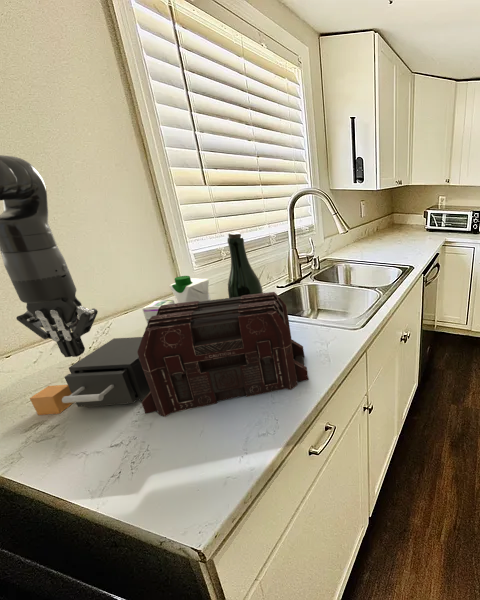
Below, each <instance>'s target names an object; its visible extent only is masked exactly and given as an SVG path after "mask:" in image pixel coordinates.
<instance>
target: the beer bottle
mask: <svg viewBox="0 0 480 600" xmlns="http://www.w3.org/2000/svg"><path fill="white" fill-rule="evenodd" d="M227 235H228V237H227V244H228V250H229V255H230V256H229V257H230V270H229V275H228V281H227V298H233V297H241V296H243V295H251V294H260V293H264V289H263V286H262V283H261V281H260V279H259V277H258V275H257V274H256V273H255V270H254V269H253V268H252V266H251V264H250V261H249V259H248V255H247V251H246V246H245V239H244V237H243V236H242V234H241V232H230V233H228V234H227Z"/></svg>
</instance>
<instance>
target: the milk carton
mask: <svg viewBox="0 0 480 600" xmlns="http://www.w3.org/2000/svg"><path fill="white" fill-rule="evenodd" d="M168 287H169V288H170V291H171V292H172V294H173V296H174V298H175V301H176V303H184V302H192V301H199V302H200V301H208V300H211V295H210V289H209V287H210V280H209V278H195V277H191V276H189V275H180V276H176V277H175V278H174V282H173V283H171V284H169V285H168Z"/></svg>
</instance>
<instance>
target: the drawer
mask: <svg viewBox="0 0 480 600" xmlns="http://www.w3.org/2000/svg"><path fill="white" fill-rule="evenodd" d="M64 380H65V383H67V384H66V385H68V386H69V389H70V391H71V393H72V394H71V395H69V396H64V397H63V398H62V402H63V403H73V404H74V403H75V404H76V406H77V407H78V408H82V407H83V408H84V407H97V406H111V405H126V404H127V405H128V404H134V403H135V402H136V397H135V395H137V392H136V390H135V387H134V384H133V382H132V379H131V376H130V373H129V371H128V368H114V369H97V370H80V371H79V373H76V374H71V373H68V374H66V375H65V376H64Z"/></svg>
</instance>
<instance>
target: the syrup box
mask: <svg viewBox="0 0 480 600" xmlns="http://www.w3.org/2000/svg"><path fill="white" fill-rule="evenodd" d="M167 304H176V302H175V300H173V299H161V300H154V301H153V302H151V303H150V304H147V305H146V306H144V307H142V312H143V316H144V318H145V321H146V324H148V320H149V319H150V318H151V317H152V316H156V315H157V312H158V309H159V307H160V306H161V305H167Z"/></svg>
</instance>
